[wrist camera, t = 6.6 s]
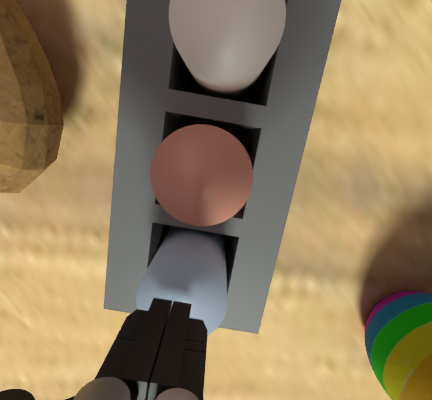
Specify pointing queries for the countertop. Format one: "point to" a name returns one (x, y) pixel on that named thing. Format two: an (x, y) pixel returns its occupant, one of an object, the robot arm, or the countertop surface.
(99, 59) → the countertop surface
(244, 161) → the brown egg
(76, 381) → the countertop surface
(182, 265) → the blue grey egg
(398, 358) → the decorative egg
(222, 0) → the white egg
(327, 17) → the grey rectangular block
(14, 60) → the potato
